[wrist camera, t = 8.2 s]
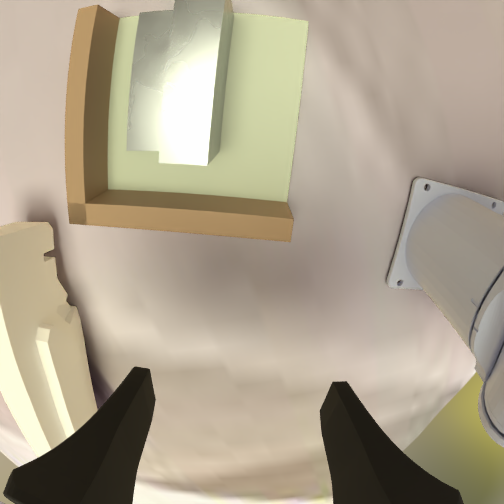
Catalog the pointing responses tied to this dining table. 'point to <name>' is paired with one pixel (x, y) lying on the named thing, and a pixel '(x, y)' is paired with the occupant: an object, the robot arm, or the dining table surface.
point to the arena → (184, 175)
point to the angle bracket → (180, 81)
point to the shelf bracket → (40, 341)
